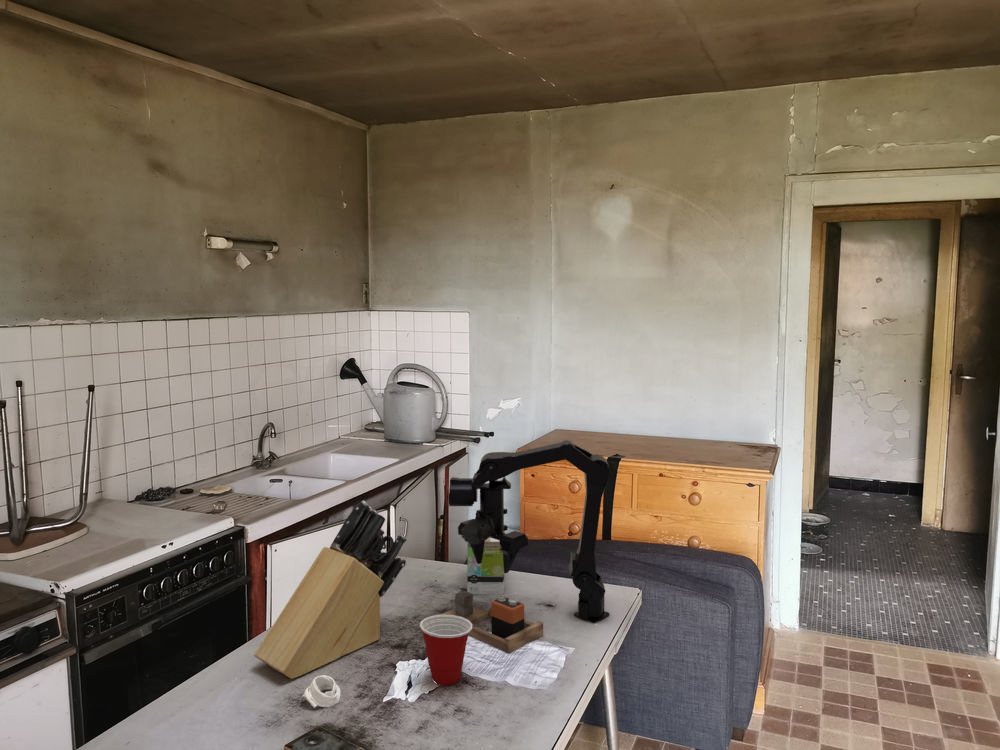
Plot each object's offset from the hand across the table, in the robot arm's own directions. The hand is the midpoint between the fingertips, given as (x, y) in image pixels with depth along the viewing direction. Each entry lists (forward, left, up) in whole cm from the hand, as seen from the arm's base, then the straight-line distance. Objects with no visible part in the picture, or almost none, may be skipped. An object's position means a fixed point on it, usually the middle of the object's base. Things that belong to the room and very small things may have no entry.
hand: (492, 568), depth 185 cm
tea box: (-13, -15, -12) cm, 23 cm away
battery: (+7, +12, -12) cm, 18 cm away
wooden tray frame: (+6, +4, -12) cm, 14 cm away
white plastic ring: (+50, +2, -12) cm, 51 cm away
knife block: (+35, -15, -12) cm, 40 cm away
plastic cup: (+28, +14, -12) cm, 34 cm away
